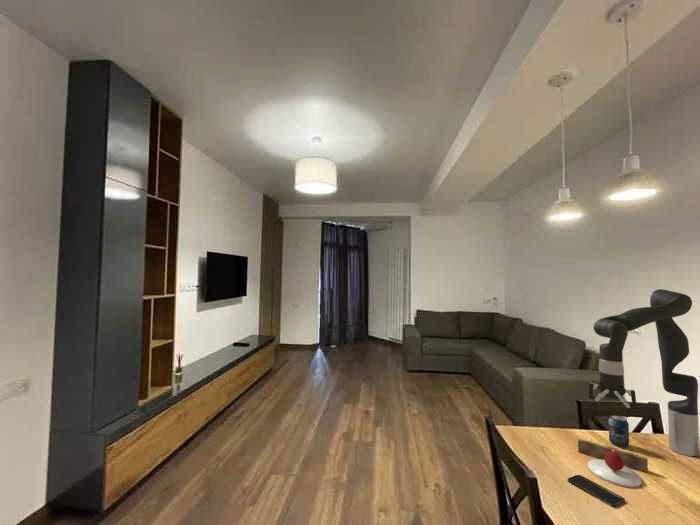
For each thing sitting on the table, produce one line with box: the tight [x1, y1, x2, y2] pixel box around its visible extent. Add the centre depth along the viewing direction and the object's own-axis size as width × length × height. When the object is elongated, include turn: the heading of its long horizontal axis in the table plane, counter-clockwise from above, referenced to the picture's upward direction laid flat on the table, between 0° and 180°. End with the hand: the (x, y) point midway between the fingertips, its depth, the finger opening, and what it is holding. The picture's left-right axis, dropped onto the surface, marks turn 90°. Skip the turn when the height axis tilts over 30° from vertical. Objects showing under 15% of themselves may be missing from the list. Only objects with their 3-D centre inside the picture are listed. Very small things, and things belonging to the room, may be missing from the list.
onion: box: [604, 449, 624, 471], centre depth 123 cm, size 6×6×8 cm
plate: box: [587, 458, 643, 488], centre depth 123 cm, size 16×16×1 cm
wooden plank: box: [577, 438, 649, 473], centre depth 131 cm, size 22×2×5 cm, turn 50°
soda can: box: [608, 414, 630, 449], centre depth 145 cm, size 7×7×12 cm
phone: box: [567, 474, 626, 508], centre depth 112 cm, size 8×1×15 cm
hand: (612, 413), depth 124 cm, fingers open, 8 cm apart
